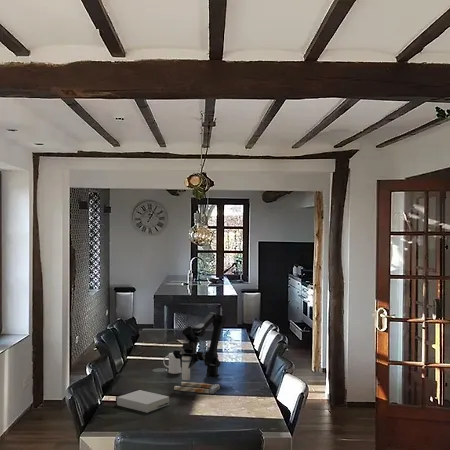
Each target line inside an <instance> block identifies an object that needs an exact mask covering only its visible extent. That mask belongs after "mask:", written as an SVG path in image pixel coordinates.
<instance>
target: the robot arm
mask: <svg viewBox="0 0 450 450" xmlns="http://www.w3.org/2000/svg"><path fill="white" fill-rule="evenodd" d="M226 321H227V317H226V316H225V315H224V314H219V313H217V312H208V315H206V317H205V318H204V319H202V321H201V322H200V323H198V324H196V325H194V326H193V327H192V326H190V325H188V326H187V327H185V328H184V329H183V330H182V332H181V333H182V335H183V336H184V338H185V340H186V341H188V342H183V343H182V346H181V348H182V349H183V351H181V349H174V350H173V352H172V353H173V355H174V356H175V358H176V359H180V367H181V369H182V357H183V356H190V364H189V368H190V369H191V368H192V367H193V366H194V365H195V364H196V363H197V362H199V361H201V362H202V361H203V362H204V366H207V367H206V374H205V376H207V377H210V378H213V377H218V376H220V374H219V373H218V372H219V369H218V368H219V367H220V366H221V361H220V360H219V355H218V346H219V341H220V336H221V331H222V328H223V327H224V326H225V324H226ZM211 324H212V327H213V329H212V334H211V337H210V338H211V339H210V343H209V348H208V350H207V351H205V352H203V351H197V348H198V344H200V343H201V340H200V338H203V337H204V335H205V334H206V330H207V329H208V328H209V326H211ZM199 337H200V338H199Z"/></svg>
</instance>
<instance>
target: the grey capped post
mask: <svg viewBox="0 0 450 450" xmlns="http://www.w3.org/2000/svg"><path fill="white" fill-rule="evenodd" d="M190 361H191V357H190V356H183V357H182V368H181V371H182V372H181V380H183V381H189V380H190V379H191V368H189V364H190Z"/></svg>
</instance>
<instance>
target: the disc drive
mask: <svg viewBox="0 0 450 450" xmlns="http://www.w3.org/2000/svg"><path fill="white" fill-rule="evenodd" d="M168 405H170V396H167V395H163V394H159V393H155V392H149V391H146V390H141V389H140V388H138V389H135V390H132V391H129V392H126V393H123V394H120V395H116V396H115V406H119V407H123V408H127V409H131V410H135V411H138V412H143V413H147V414H149V412H153V411H156V410H158V409H161V408H163V407H166V406H168Z"/></svg>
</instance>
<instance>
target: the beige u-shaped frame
mask: <svg viewBox="0 0 450 450" xmlns="http://www.w3.org/2000/svg"><path fill="white" fill-rule="evenodd" d="M220 386H221V385H220V384H218V383H215V384H211V383H201V382H200V383H199V382H188V381H181V382H180V386H179V385H178V386H177V385H175V386H174V388H173V389H174V391H181V392H182V391H183V392H191V393H202V394H215V393H216V392H217V391H219V390H220ZM201 387H202V388H201Z"/></svg>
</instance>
